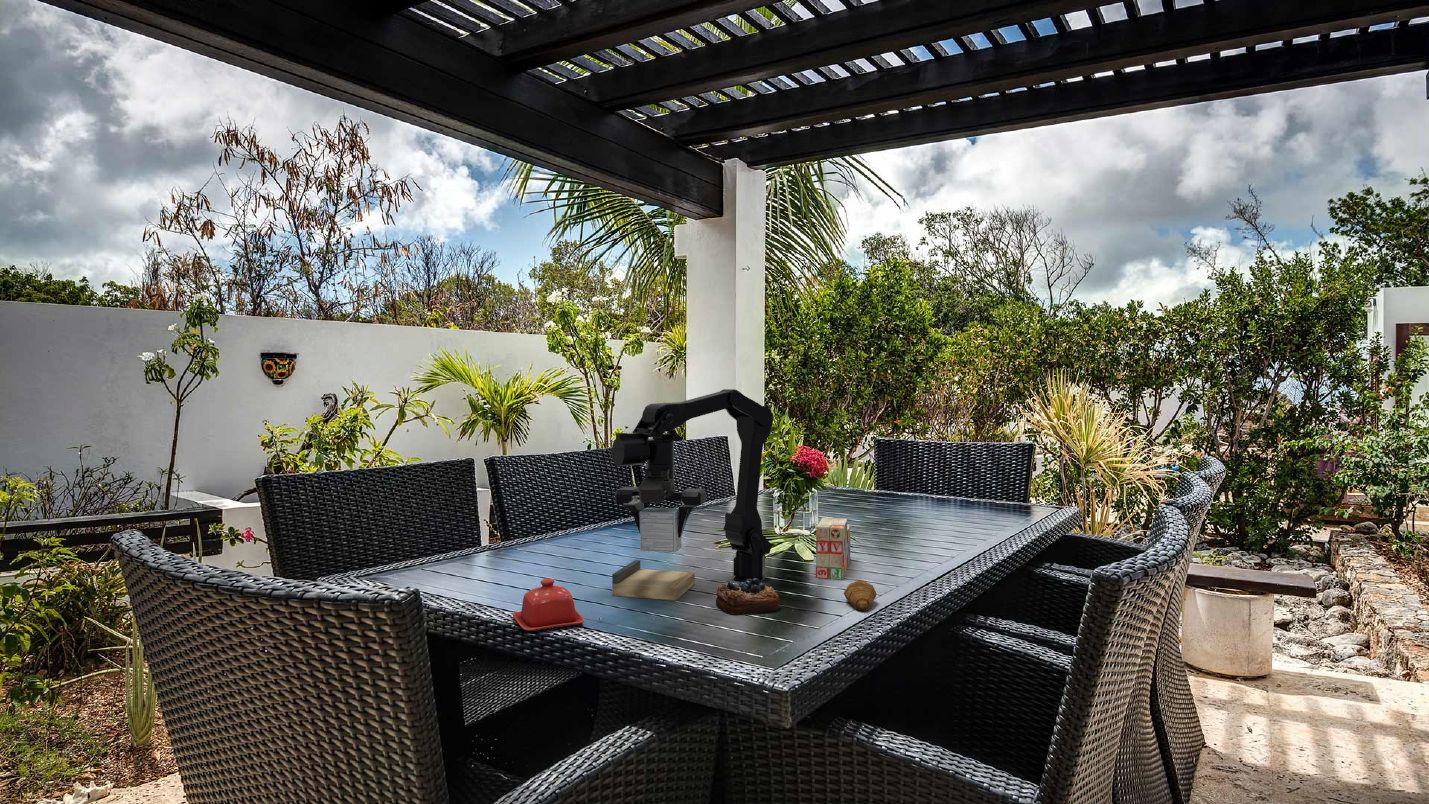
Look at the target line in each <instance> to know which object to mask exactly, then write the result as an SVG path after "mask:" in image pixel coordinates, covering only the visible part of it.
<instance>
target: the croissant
mask: <svg viewBox="0 0 1429 804" xmlns="http://www.w3.org/2000/svg"><path fill="white" fill-rule="evenodd" d="M843 595H844V597H845V598H846V600H847V603H849V604H850V606H852V607H853V608H854V609H855V610H858V611H861V612H864V611H868V610H869V609H870V608H871V607H872V605H873V603H874V601H875V599H876V598H877V595H878V594H877V591H876V589H875V586H874V585H873V584H871V583H868V582H866V581H864V580H861V579H859V580H858V579H857V580H856V581H853V582H850V583H848V584H847V586H846V588H845V590H844V591H843Z"/></svg>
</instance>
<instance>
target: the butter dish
mask: <svg viewBox="0 0 1429 804" xmlns="http://www.w3.org/2000/svg"><path fill="white" fill-rule="evenodd" d="M554 584H555V580H554V579H553V578H550V577H546V578H543V579H542V580H541V579H540V585H541V586H539V587H536V588H532V589H530V590H528V591H526V592H525V593H524V594H523V599H522V605H521V611H516V612H512V614H511V615H512V617H513V619H514V620H515V621H516V622H517V624H518V625H519V626H520V627H521V628H522V629H523V630H525V631H528V632H530V631H532V632H533V631H541V630H540V629H542V630H547V628H550V629H555V628H554V627H557V628H562V627H561V626H565V627H570V626H575V625H579V624H582V623H583V624H584V622H585V619H584V618H583V616H582V615H581V614H580V613H579V612H578V611H577V610H576V608H575V601H574V599H573V596H572V594H571V592H570V591H569V590H568V589H567V588H565V587H563V586H560V585H554Z"/></svg>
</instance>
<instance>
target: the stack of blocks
mask: <svg viewBox="0 0 1429 804" xmlns="http://www.w3.org/2000/svg"><path fill="white" fill-rule="evenodd" d="M815 528H816V529H815V579H816V578H818V579H817V580H831V579H833V581H843V580H844V578H843V577H845V576H846V574H845V573H847V570H848V567H847V566H849V565H850V562H851V542H852V541H851V524H848V518H838V517H836V518H835V517H821V520H820V521H819V523H817V525H816V526H815ZM846 569H847V570H846ZM844 575H845V576H844Z"/></svg>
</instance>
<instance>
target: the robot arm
mask: <svg viewBox="0 0 1429 804" xmlns="http://www.w3.org/2000/svg"><path fill="white" fill-rule="evenodd" d="M722 410H725V411H726V412H727V414H728V416H730V417H731V418H732V419H734V420H735V421H736V432H737V435H738V437H739V440H740V443H741V446H740V447H741V449H740V456H739V464H738V465H739V466H738V467H739V468H738V478H737V488H736V496H735V497H736V499H735V505H734V507H733V509H732V511H731V512H725V515H724V520H725V521H724V526H723V528H722V530H723V531H724V532H725V534H724V535H725V538H726V539H727V541H728V542H729V544H730V549H731V550H733V551H735V557H734V558H733V559H732V561H733V563H732V564H733V569H732V570H733V572H732V573H733V576H734V577H733V581H740V582H746V580H747V579H754V578H757V579H759V581H760V582H763V581H764V580H765V579H766V577H767V576H768V575H767V573H766V555H769V554H771V549H772V546H773V544H772V543H771V542H770V541H769V540H768V538H766V536H765V535H764V534H763V521H762V517H761V516H760V513H759V510H758V499H759V489H760V480H761V472H762V471H761V468H762V461H763V448H764V444H765V443H766V441H767V440H768V438H769V436H770V435H771V432H772V428H773V424H774V414H773V412H772V411H771V409H770V408H769V407H767V406H764V405H761V404H760V403H758V402H757V401H755V400H753V399H751V398H750V397H747V396H745V395H744V394H743V393H742V392H741V391H739V390H738V389H736V388H735V389H733V388H732V389H725V388H724V389H722V390H720V391H716V392H712V393H709V394H706V395H705V394H704V395H703V396H702V395H701V396H699V397H694V398H690V399H687V400H683V401H680V402H679V401H678V402H658V403H650V404H647V405H646V406H645V407H644V410H643V411H642V417H640V419H639V420H638V423H637V424H636V426H635V428H634V429H633V430H632V432H630V433H629V432H616V433H615V439H614V440H613V442H612V446H611V448H610V456H611V460H612V462H613V464H614V465H615V466H616V467H627V466H639V465H644V464H645V463H646V468H645V472H644V477H643V480H642V481H640V484H639V486H623V487H620V488H618V489H616V491H615V492H614V503H615V504H622V507H623V508H626V509H627V510H628V511H629V512H630V513H631V515H632V516H633V519H634V521H635V525H636V527H637V530H638V533H639V534H640V513H639V512H640V511H641V510H643V509H645V504H646V503H654V504H660V503H661V504H662V502H663V501H667V502H668V501H671V502H673V501H675V502H677V501H678V502H681V505H679V506H678V509H679V525H678V537H679V538H681V539H682V536H683V534H684V531H685V527H686V525H687V522H688V519H689V516H690V514H692V510H693V509H696V508H697V507H699V506H702V505H704V504H705V503H707V492H706V490H705V489H704V488H686V489H685V490H682V492H681V491H676V485H675V472H676V467H675V453H674V451H675V444H674V442H682V441H683V440H684V438H683V436H682V435H680V434H679V433H678V432H677V431H676V429H677V428H679V427H681V426H683V425H684V424H685V423H686V422H688V421H689V420H691V419H694V418H699V417H701V416H702V417H703V416H706V415H709V414H713V413H717V412H720V411H722Z"/></svg>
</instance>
